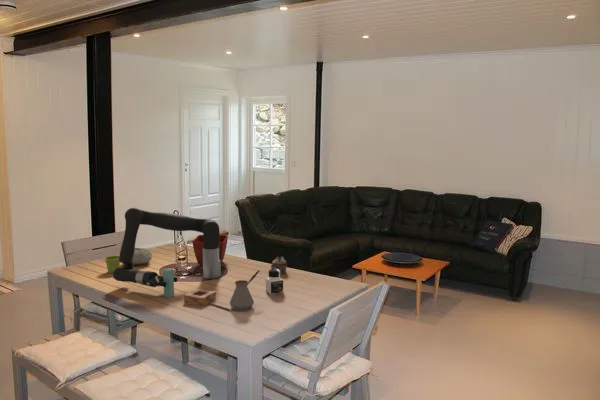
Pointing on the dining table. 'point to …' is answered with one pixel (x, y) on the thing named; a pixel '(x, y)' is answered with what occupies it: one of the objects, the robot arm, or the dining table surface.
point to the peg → (168, 282)
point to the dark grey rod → (219, 306)
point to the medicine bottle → (274, 282)
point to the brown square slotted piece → (199, 297)
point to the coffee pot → (242, 295)
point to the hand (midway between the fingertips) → (171, 282)
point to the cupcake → (279, 265)
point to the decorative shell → (141, 256)
